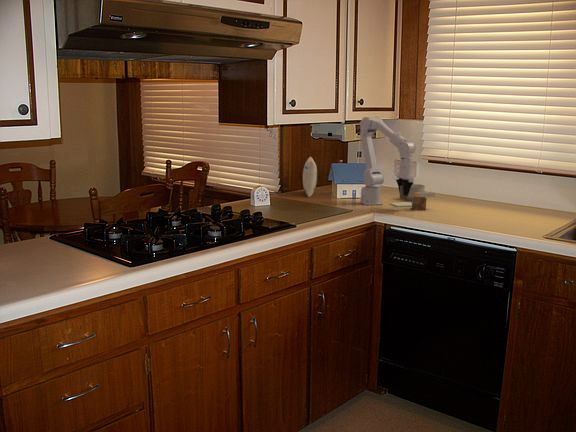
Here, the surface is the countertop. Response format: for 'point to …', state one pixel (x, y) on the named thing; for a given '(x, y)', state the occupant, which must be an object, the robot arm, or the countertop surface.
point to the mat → (402, 204)
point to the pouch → (309, 176)
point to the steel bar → (424, 194)
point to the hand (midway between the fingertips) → (403, 194)
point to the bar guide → (419, 203)
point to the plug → (402, 193)
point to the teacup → (415, 190)
